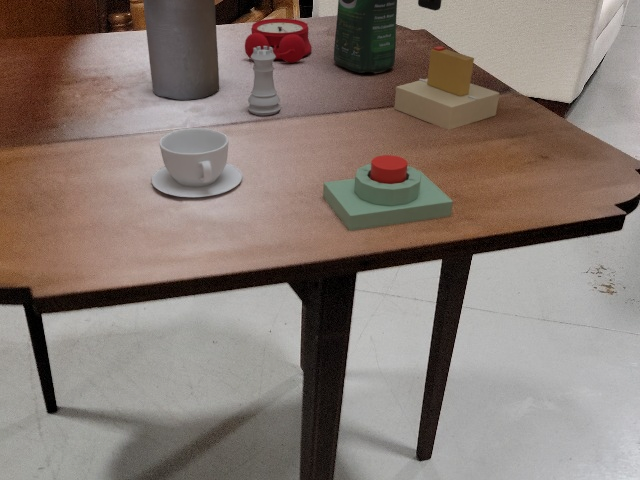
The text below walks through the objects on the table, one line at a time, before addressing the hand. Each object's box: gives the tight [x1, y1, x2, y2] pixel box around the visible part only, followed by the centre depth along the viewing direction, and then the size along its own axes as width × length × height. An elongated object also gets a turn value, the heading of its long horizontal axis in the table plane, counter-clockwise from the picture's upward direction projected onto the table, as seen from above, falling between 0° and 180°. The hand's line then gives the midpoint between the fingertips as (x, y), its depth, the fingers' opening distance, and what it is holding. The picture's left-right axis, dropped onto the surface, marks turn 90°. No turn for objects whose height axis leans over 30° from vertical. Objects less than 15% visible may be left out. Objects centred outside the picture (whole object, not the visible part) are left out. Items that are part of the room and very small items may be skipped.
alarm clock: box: [244, 18, 313, 64], centre depth 118 cm, size 10×6×15 cm
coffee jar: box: [333, 0, 398, 74], centre depth 109 cm, size 10×8×19 cm
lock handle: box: [427, 45, 475, 96], centre depth 95 cm, size 6×2×5 cm, turn 36°
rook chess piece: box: [247, 46, 281, 117], centre depth 96 cm, size 4×4×8 cm
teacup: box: [151, 127, 243, 198], centre depth 80 cm, size 10×10×5 cm
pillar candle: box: [142, 0, 220, 101], centre depth 101 cm, size 10×10×15 cm
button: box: [370, 154, 409, 184], centre depth 74 cm, size 4×4×2 cm
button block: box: [322, 163, 454, 232], centre depth 75 cm, size 11×8×4 cm
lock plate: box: [393, 77, 500, 131], centre depth 97 cm, size 10×9×3 cm
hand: (456, 2), depth 90 cm, fingers open, 9 cm apart
